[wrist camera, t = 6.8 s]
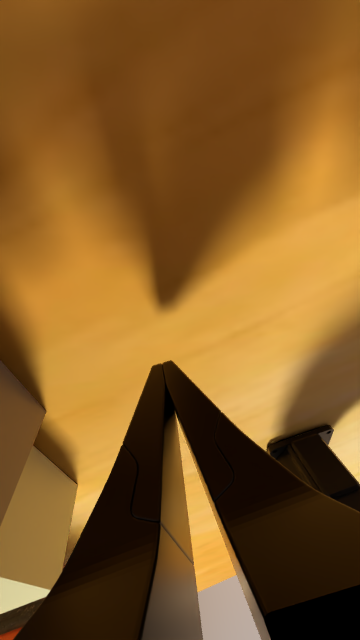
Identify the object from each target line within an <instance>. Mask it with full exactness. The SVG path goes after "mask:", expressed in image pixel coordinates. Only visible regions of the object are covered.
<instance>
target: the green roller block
mask: <svg viewBox="0 0 360 640" xmlns="http://www.w3.org/2000/svg"><path fill="white" fill-rule="evenodd" d="M77 487H78V485H77V484H76V483H75V482H73V481H72V480H71V479H70V478H69V477H68V476H67V475H66V474H65V473H63V472H62V471H61V470H60V469H59V468H58V467H57V466H56V465H55V464H53V463H52V462H51V461H50V460H49V459H48V458H47V457H46V456H44V455H43V454H42V453H41V452H40V451H39V450H38V449H37V448H36V447H34V446H32V449H31V451H30V454H29V456H28V459H27V461H26V464H25V466H24V469H23V471H22V474H21V476H20V479H19V481H18V484H17V486H16V489H15V491H14V494H13V496H12V499H11V501H10V504H9V506H8V509H7V511H6V514H5V516H4V519H3V521H2V524H1V526H0V614H2V613H5V612H7V611H10V610H13V609H15V608H18V607H20V606H23V605H26V604H28V603H31V602H33V601H36V600H39V599H41V598H44V597H46V596H47V595H48V593H49V592H50V590H51V589H52V587H53V586H54V584H55V583H56V581H57V579H58V578H59V576H60V574H61V573H62V569H63V563H64V558H65V553H66V547H67V542H68V536H69V531H70V525H71V520H72V514H73V509H74V504H75V498H76V493H77Z"/></svg>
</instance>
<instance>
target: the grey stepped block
mask: <svg viewBox="0 0 360 640" xmlns="http://www.w3.org/2000/svg"><path fill="white" fill-rule="evenodd" d="M45 414H46V411H45V409H44V408H43V407H42V406H41V405H40V404H39V403H38V402H37V400H36V399H35V398H34V397H33V396H32V395H31V394H30V393H29V392H28V390H27V389H26V388H25V387H24V386H23V385H22V384H21V383H20V381H19V380H18V379H17V378H16V377H15V376H14V375H13V374H12V373H11V371H10V370H9V369H8V368H7V367H6V366H5V365H4V364H3V362H2V361H1V360H0V526H1V524H2V521H3V519H4V516H5V514H6V511H7V509H8V506H9V504H10V501H11V499H12V496H13V494H14V491H15V489H16V486H17V484H18V481H19V479H20V476H21V474H22V471H23V469H24V466H25V464H26V461H27V459H28V456H29V454H30V451H31V449H32V446H33V444H34V441H35V439H36V436H37V434H38V431H39V429H40V426H41V424H42V421H43V419H44V416H45Z"/></svg>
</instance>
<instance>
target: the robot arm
mask: <svg viewBox="0 0 360 640" xmlns="http://www.w3.org/2000/svg"><path fill="white" fill-rule="evenodd" d="M175 412H176V413H175ZM176 415H177V418H178V421H179V424H180V426H181V429H182V431H183V434H184V437H185V439H186V442H187V445H188V447H189V450H190V453H191V455H192V458H193V460H194V463H195V466H196V468H197V471H198V474H199V476H200V479H201V482H202V484H203V487H204V489H205V492H206V495H207V497H208V500H209V503H210V505H211V508H212V511H213V513H214V516H215V518H216V521H217V524H218V526H219V529H220V532H221V534H222V537H223V540H224V542H225V545H226V547H227V550H228V552H229V555H230V558H231V561H232V563H233V566H234V569H235V571H236V574H237V576H238V579H239V582H240V584H241V587H242V590H243V592H244V595H245V598H246V600H247V603H248V605H249V608H250V611H251V613H252V616H253V619H254V621H255V624H256V627H257V629H258V632H259V634H260V637H261V639H262V640H360V484H359V482H358V481H357V480H356V479H355V478H354V476H353V475H352V474H351V473H350V472H349V470H348V469H347V468H346V467H345V465H344V464H343V463H342V462H341V461H340V459H339V458H338V457H337V456H336V455H335V453H334V452H333V451H332V450H331V448H330V447H329V446H328V444H329V442H330V439H331V436H332V434H333V431H334V429H333V428H332V427H331V426H330V425H326V426H324V427H321V428H318V429H315V430H312V431H309V432H306V433H304V434H301V435H298V436H295V437H292V438H289V439H287V440H284V441H281V442H278V443H275V444H272V445H270V446H269V447H268V450H267V452H266V451H265V450H263V449H262V448H261V447H260V446H258V445H257V444H256V443H255V442H254V441H252V440H251V439H250V438H249V437H248V436H247V435H245V434H244V433H243V432H242V431H241V430H240V429H239V428H238V427H237V426H236V425H235V424H234V423H232V422H231V421H230V420H229V419H228V418H227V417H226V415H225V414H224V413H222V412H221V411H220V409H219V408H218V407H217V406H216V405H215V404H214V403H213V402H212V401H211V400H210V399H209V398H208V397H207V396H206V395H205V394H204V393H203V392H202V391H201V390H200V389H199V388H198V387H197V386H196V385H195V384H194V383H193V382H192V381H191V380H190V379H189V378H188V377H187V376H186V374H185V373H184V372H183V371H182V370H181V369H180V368H179V367H178V366H177V365H176V364H175V363H174V362H173V361H171V360H170V361H167V362H164V363H163V364H161V363H160V364H157V365H154V366H152V368H151V371H150V373H149V376H148V378H147V381H146V384H145V386H144V389H143V391H142V394H141V397H140V399H139V402H138V404H137V407H136V410H135V412H134V415H133V417H132V420H131V423H130V425H129V428H128V430H127V433H126V436H125V438H124V441H123V445H122V446H121V448H120V451H119V453H118V456H117V459H116V461H115V463H114V466H113V468H112V471H111V473H110V475H109V478H108V480H107V482H106V484H105V486H104V488H103V490H102V493H101V495H100V497H99V499H98V501H97V503H96V505H95V507H94V509H93V511H92V513H91V515H90V517H89V519H88V521H87V523H86V525H85V527H84V529H83V531H82V533H81V535H80V538H79V540H78V542H77V544H76V546H75V548H74V550H73V552H72V554H71V556H70V558H69V560H68V562H67V564H66V566H65V567H64V569H63V571H62V573H61V574H60V576H59V578H58V579H57V581H56V583H55V584H54V586H53V587H52V589H51V590H50V592H49V593H48V595H47V596H46V598H45V599H44V600H43V602H42V603H41V604H40V606H39V607H38V608H37V610H36V611H35V612H34V613H33V615H32V616H31V617H30V618H29V620H28V621H27V622H26V623H25V625H24V626H23V627H22V629H21V630H20V631H19V632H18V634H17V635H16V636H15V637H14V639H13V640H203V636H202V628H201V620H200V611H199V603H198V594H197V586H196V577H195V569H194V566H193V565H194V561H193V553H192V544H191V536H190V528H189V519H188V511H187V502H186V494H185V486H184V477H183V469H182V461H181V452H180V444H179V435H178V427H177V419H176Z"/></svg>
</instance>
